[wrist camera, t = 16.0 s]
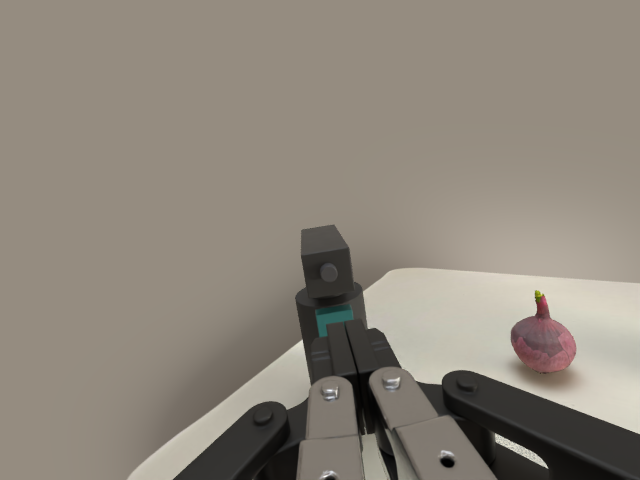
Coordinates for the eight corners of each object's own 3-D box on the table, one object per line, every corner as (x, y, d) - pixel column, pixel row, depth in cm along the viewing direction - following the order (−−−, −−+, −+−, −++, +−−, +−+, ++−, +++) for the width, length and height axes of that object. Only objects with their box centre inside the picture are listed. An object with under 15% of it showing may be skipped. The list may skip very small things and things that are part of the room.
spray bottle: (403, 481, 26) (375, 246, 22) (320, 496, 26) (276, 262, 22) (370, 382, 39) (348, 220, 35) (314, 391, 39) (285, 230, 35)
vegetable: (560, 357, 38) (561, 280, 36) (588, 392, 32) (591, 303, 30) (504, 356, 40) (502, 282, 38) (521, 390, 34) (519, 305, 32)
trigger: (362, 384, 27) (352, 309, 25) (328, 390, 27) (315, 315, 25) (360, 376, 28) (350, 303, 27) (327, 381, 28) (315, 309, 27)
